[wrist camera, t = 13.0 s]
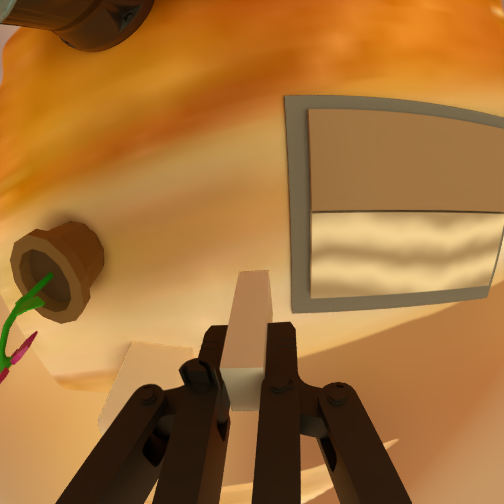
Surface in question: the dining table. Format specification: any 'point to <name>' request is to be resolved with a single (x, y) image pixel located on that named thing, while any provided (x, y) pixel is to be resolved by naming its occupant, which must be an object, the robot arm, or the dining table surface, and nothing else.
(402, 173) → the floor frame
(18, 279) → the flowerpot
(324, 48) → the dining table surface
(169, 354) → the milk
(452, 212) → the plank
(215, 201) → the dining table surface
